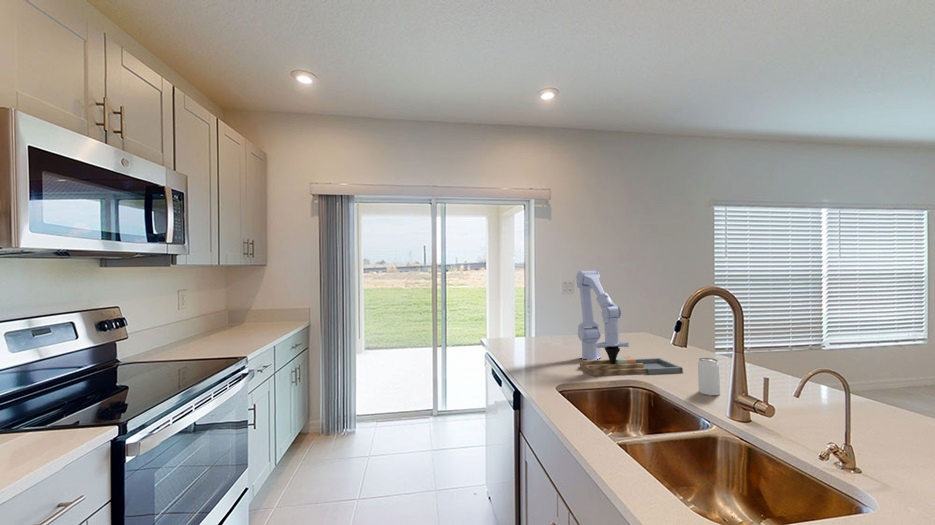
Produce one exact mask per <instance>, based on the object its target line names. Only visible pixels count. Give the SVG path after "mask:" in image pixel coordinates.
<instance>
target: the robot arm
mask: <svg viewBox="0 0 935 525" xmlns="http://www.w3.org/2000/svg"><path fill="white" fill-rule="evenodd" d="M575 277H576V278H575V279H576V286H577V288H578V289H579V294H580V303H581V304H580V305H581V314H582V322H581V323H579V324H578V326H577V337H578V339H579V340H580V341H581V357H582V359H581V360H583V359H587V360H597V359H598V360H600V359H601V358H602V355H601V354H600V351H601V350H600V349H602V348H604V350H605V352H606V354H607V356H608V360H610V363H611V364H615V360H616V357H618V355H619V352H620V350H621V349H620V348H625V347H626V348H629V347H630V344H629V342H628V341H619V340H620V338H619V337H620V335H619V319H620V318H621V316H622V315H621V314H622V311H621V307H620V306H619V305H617V304H616V303H615V302H613V300H612V299H611V297H610V295H609V294H608V293H607V292H605V291H604V288H603V286H602V283H601V282H600V281H601V275H600V273H599V271H598V270H579V271H578V272H577V274H576V276H575ZM591 290H593V291H594V292H593V293H595V295H596V301H597V303H598V305H599V307H600V309H601V311H600V312H601V317H602V321H603V323H604V341H602V342H599V340H600V339H601V336H602V334H601V330H600V326H599V324H598V323H597V322H596V321H594V311H593V303H592V294H591ZM599 358H600V359H599ZM587 360H586V361H587Z"/></svg>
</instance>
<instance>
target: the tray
mask: <svg viewBox="0 0 935 525" xmlns="http://www.w3.org/2000/svg"><path fill="white" fill-rule="evenodd" d="M634 359H635V360H636V363H643V364H644V368H646V369H647V374H646V375H662V374H682V373H684V372H683V370H684V369H683V367H682V366H679V365H677V364H675V363H672V362H671V361H670V362H669V361H667V360H665V359H663V358H661V357H656V358H655V357H653V358H634Z"/></svg>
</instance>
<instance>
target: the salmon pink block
mask: <svg viewBox="0 0 935 525" xmlns="http://www.w3.org/2000/svg"><path fill="white" fill-rule="evenodd" d="M621 357H622V358H624V359H626V360H627V364H635V363H636V360H635V359H636V358H633V357H631V356H621Z"/></svg>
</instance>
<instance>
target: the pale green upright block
mask: <svg viewBox="0 0 935 525" xmlns="http://www.w3.org/2000/svg"><path fill="white" fill-rule="evenodd" d="M622 357H623V356H617V357H616V360H615V364H627V360H626V359H624V358H622Z"/></svg>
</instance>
